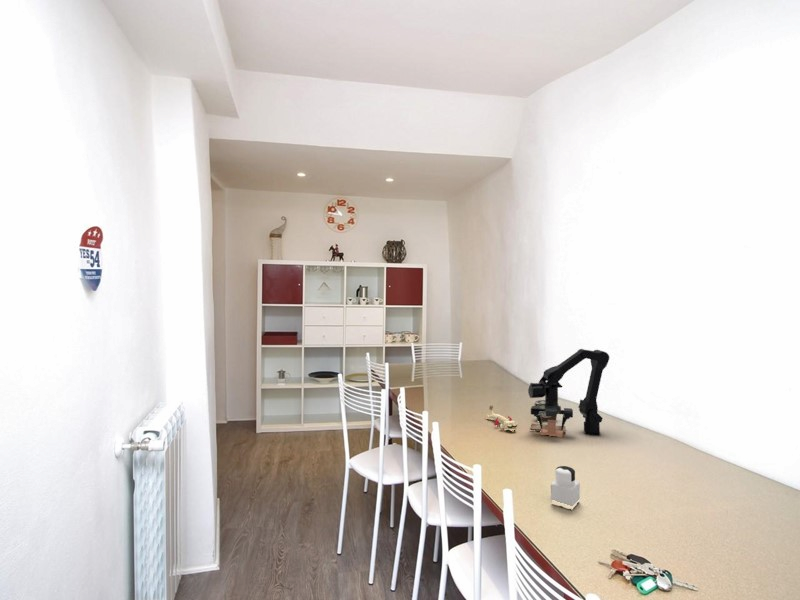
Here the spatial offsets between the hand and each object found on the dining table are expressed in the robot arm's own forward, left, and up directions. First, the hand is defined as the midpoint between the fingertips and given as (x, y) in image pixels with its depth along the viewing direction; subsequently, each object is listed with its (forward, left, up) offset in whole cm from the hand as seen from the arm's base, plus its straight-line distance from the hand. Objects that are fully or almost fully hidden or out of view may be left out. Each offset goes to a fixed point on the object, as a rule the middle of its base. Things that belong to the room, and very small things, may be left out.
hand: (551, 429), depth 222 cm
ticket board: (+2, -7, -3) cm, 7 cm away
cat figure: (+24, -8, -3) cm, 26 cm away
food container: (+4, -23, -3) cm, 23 cm away
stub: (0, 0, -3) cm, 3 cm away
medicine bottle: (-7, +67, -3) cm, 68 cm away
